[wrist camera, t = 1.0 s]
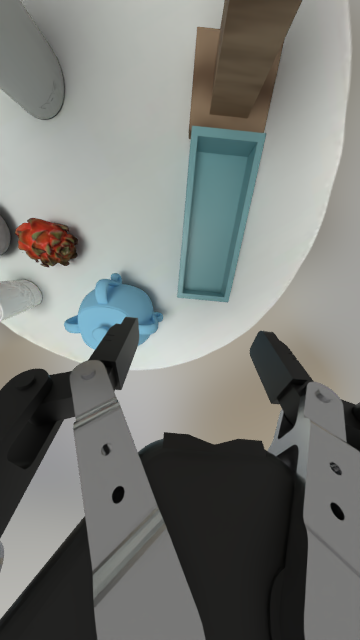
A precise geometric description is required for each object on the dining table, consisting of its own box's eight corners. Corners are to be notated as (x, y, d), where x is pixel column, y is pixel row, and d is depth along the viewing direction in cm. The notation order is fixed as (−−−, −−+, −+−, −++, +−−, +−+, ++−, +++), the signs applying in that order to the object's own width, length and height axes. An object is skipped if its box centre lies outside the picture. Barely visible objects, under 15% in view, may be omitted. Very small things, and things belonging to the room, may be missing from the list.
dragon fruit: (95, 247, 36) (51, 248, 38) (68, 206, 29) (15, 209, 31) (78, 274, 32) (30, 273, 34) (41, 233, 24) (-17, 235, 26)
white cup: (51, 303, 40) (11, 318, 31) (26, 310, 41) (-20, 327, 32) (32, 273, 37) (-19, 280, 28) (5, 282, 38) (-52, 291, 29)
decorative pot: (127, 263, 36) (95, 269, 23) (170, 315, 40) (163, 343, 28) (83, 304, 40) (36, 327, 28) (127, 346, 45) (104, 383, 32)
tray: (223, 296, 38) (228, 302, 33) (178, 291, 38) (177, 297, 33) (252, 153, 27) (266, 133, 23) (190, 146, 27) (191, 125, 23)
